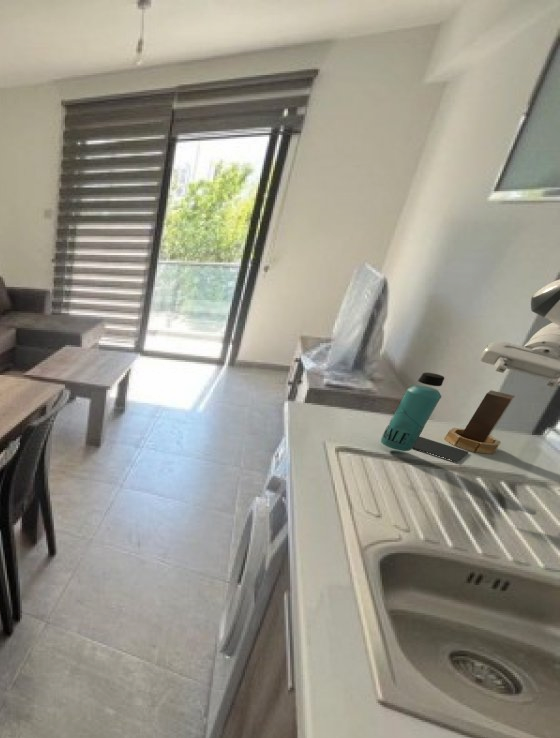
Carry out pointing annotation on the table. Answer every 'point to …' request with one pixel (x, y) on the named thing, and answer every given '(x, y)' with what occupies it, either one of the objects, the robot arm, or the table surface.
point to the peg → (487, 416)
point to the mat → (439, 449)
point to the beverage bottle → (413, 413)
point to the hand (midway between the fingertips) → (526, 376)
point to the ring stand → (471, 442)
